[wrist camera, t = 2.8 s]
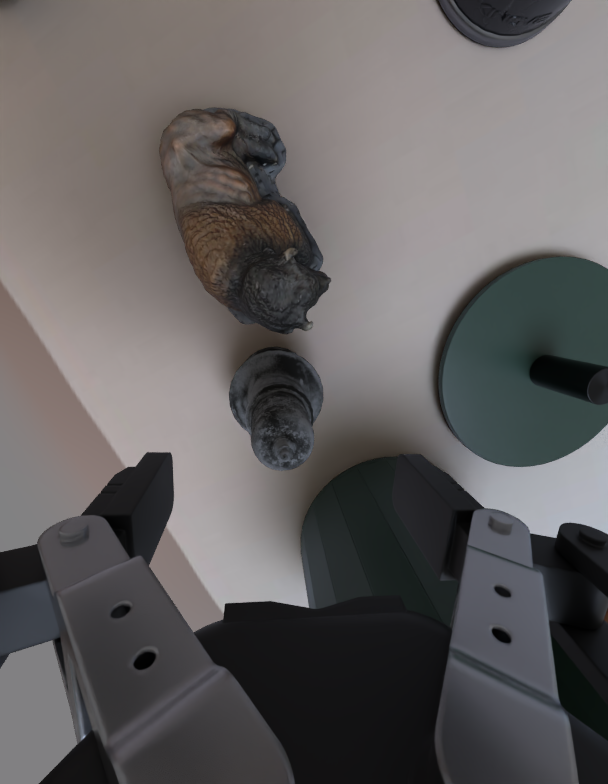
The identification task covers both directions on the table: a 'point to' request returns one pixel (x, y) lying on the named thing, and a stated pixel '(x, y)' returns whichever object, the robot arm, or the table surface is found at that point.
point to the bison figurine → (241, 217)
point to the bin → (398, 568)
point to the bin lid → (530, 363)
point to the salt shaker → (277, 405)
